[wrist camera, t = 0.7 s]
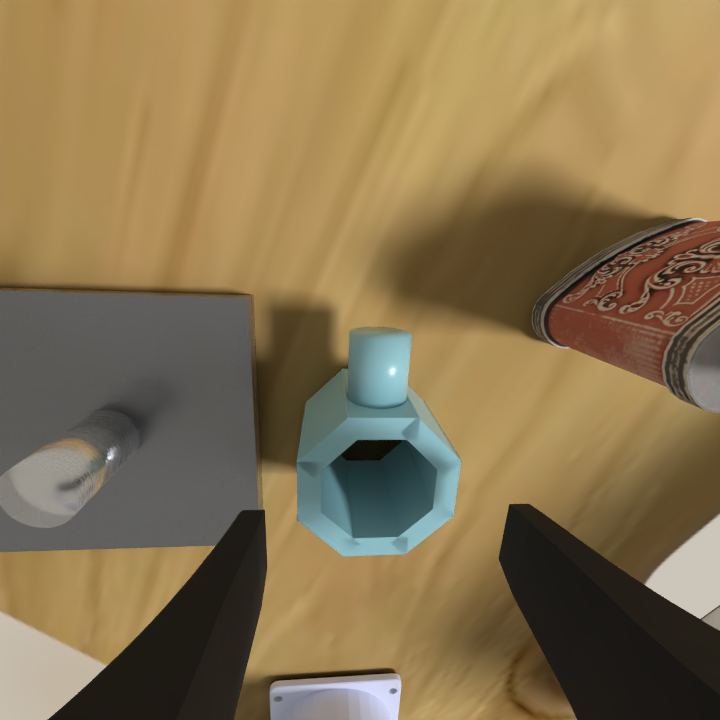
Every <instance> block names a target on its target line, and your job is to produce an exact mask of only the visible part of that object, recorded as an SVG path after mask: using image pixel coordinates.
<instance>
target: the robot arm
mask: <svg viewBox="0 0 720 720" xmlns="http://www.w3.org/2000/svg"><path fill="white" fill-rule="evenodd" d="M499 561H500V563H501V566H502V569H503V571H504V574H505V576H506V579H507V582H508V584H509V586H510V589H511V591H512V594H513V596H514V598H515V600H516V602H517V604H518V606H519V608H520V610H521V611H522V613H523V615H524V617H525V619H526V621H527V623H528V625H529V627H530V629H531V630H532V632H533V634H534V636H535V638H536V640H537V642H538V644H539V645H540V647H541V649H542V651H543V653H544V655H545V657H546V658H547V660H548V662H549V664H550V666H551V668H552V670H553V672H554V673H555V675H556V677H557V679H558V681H559V683H560V685H561V687H562V689H563V691H564V693H565V695H566V697H567V699H568V701H569V703H570V705H571V707H572V709H573V711H574V713H575V716H576V718H577V720H720V630H718V629H716V628H714V627H712V626H711V625H709V624H707V623H705V622H704V621H702V620H700V619H699V618H697V617H695V616H693V615H692V614H690V613H688V612H687V611H685V610H684V609H682V608H680V607H678V606H677V605H675V604H673V603H671V602H670V601H668V600H667V599H665V598H664V597H662V596H661V595H659V594H657V593H656V592H654V591H653V590H651V589H650V588H648V587H647V586H645V585H644V584H642V583H641V582H639V581H637V580H636V579H634V578H633V577H631V576H630V575H628V574H627V573H625V572H624V571H622V570H621V569H620V568H618V567H617V566H615V565H614V564H612V563H611V562H609V561H608V560H607V559H605V558H604V557H602V556H601V555H600V554H598V553H597V552H595V551H594V550H593V549H591V548H590V547H588V546H587V545H586V544H584V543H583V542H581V541H580V540H579V539H577V538H576V537H575V536H573V535H572V534H571V533H569V532H568V531H566V530H565V529H564V528H562V527H561V526H560V525H558V524H557V523H556V522H554V521H553V520H551V519H550V518H549V517H547V516H546V515H544V514H543V513H542V512H540V511H539V510H537V509H536V508H534V507H533V506H531V505H530V504H509V509H508V514H507V519H506V524H505V529H504V534H503V539H502V544H501V549H500V554H499ZM266 572H267V550H266V528H265V510H242V511H241V512H240V513H239V514H238V515H237V517H236V518H235V520H234V521H233V523H232V524H231V526H230V527H229V528H228V530H227V531H226V533H225V534H224V535H223V537H222V538H221V539H220V541H219V542H218V543H217V545H216V546H215V547H214V549H213V550H212V551H211V553H210V554H209V555H208V556H207V558H206V559H205V560H204V561H203V563H202V564H201V565H200V567H199V568H198V569H197V570H196V572H195V573H194V574H193V575H192V576H191V578H190V579H189V580H188V581H187V582H186V584H185V585H184V586H183V587H182V588H181V589H180V590H179V592H178V593H177V594H176V595H175V596H174V597H173V598H172V600H171V601H170V602H169V603H168V604H167V605H166V607H165V608H164V609H163V610H162V611H161V612H160V613H159V614H158V615H157V616H156V617H155V619H154V620H153V621H152V622H151V623H150V624H149V625H148V626H147V627H146V628H145V629H144V630H143V631H142V632H141V633H140V634H139V635H138V636H137V637H136V638H135V639H134V640H133V641H132V642H131V643H130V644H129V645H128V646H127V647H126V648H125V649H124V650H123V651H122V652H121V653H120V654H119V655H118V656H117V657H116V658H115V659H114V660H113V661H112V662H111V663H110V664H109V665H108V666H107V667H106V668H105V669H104V670H102V671H101V672H100V673H99V674H98V675H97V676H96V677H95V678H94V679H93V680H92V681H91V682H90V683H89V684H88V685H87V686H86V687H84V688H83V689H82V690H81V691H80V692H79V693H78V694H77V695H76V696H75V697H73V698H72V699H71V700H70V701H69V702H68V703H67V704H66V705H64V706H63V707H62V708H61V709H60V710H59V711H57V712H56V713H55V714H54V715H53V716H51V717H50V718H49V719H48V720H234V716H235V711H236V707H237V703H238V699H239V695H240V691H241V687H242V683H243V679H244V675H245V671H246V667H247V663H248V659H249V655H250V651H251V647H252V643H253V639H254V635H255V631H256V627H257V623H258V619H259V615H260V610H261V606H262V599H263V593H264V586H265V579H266ZM400 693H401V679H400V676H399V675H398V674H396V673H389V674H373V675H358V676H342V677H327V678H312V679H296V680H281V681H275V682H273V683H272V684H271V686H270V693H269V694H270V715H271V720H398V711H399V702H400Z"/></svg>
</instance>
